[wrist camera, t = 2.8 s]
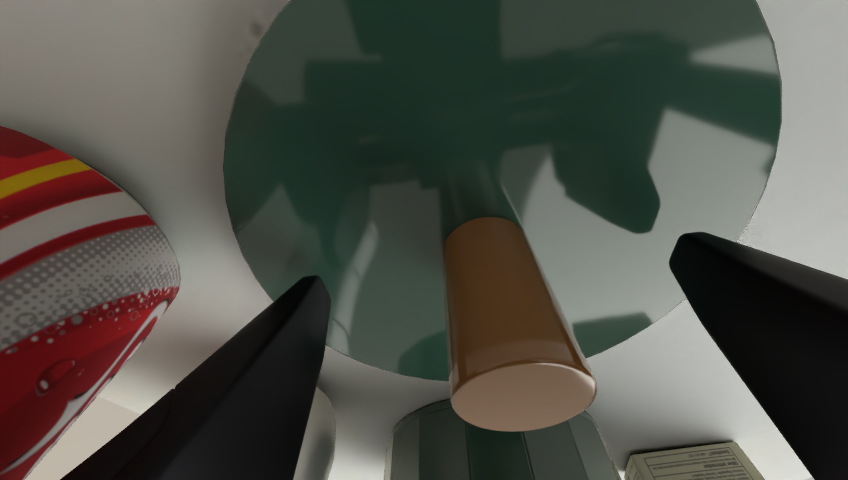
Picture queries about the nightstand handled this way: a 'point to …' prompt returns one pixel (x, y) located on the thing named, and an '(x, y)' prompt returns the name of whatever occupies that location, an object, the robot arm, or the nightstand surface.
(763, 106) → the lid
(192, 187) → the nightstand surface
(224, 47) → the nightstand surface
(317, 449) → the silver bottle
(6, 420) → the soda can
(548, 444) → the pot
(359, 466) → the nightstand surface
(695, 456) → the cosmetic box
